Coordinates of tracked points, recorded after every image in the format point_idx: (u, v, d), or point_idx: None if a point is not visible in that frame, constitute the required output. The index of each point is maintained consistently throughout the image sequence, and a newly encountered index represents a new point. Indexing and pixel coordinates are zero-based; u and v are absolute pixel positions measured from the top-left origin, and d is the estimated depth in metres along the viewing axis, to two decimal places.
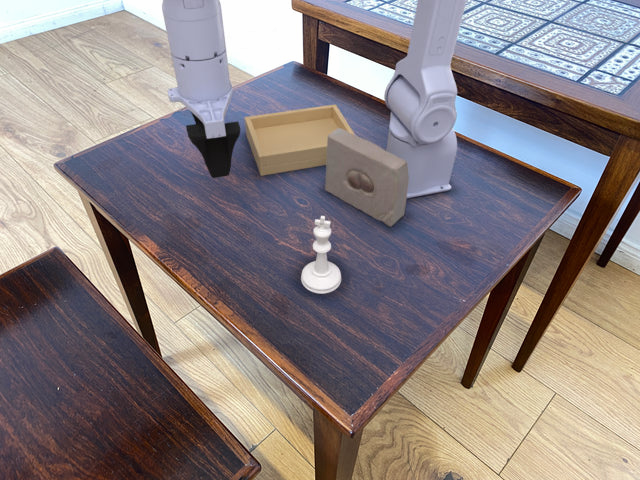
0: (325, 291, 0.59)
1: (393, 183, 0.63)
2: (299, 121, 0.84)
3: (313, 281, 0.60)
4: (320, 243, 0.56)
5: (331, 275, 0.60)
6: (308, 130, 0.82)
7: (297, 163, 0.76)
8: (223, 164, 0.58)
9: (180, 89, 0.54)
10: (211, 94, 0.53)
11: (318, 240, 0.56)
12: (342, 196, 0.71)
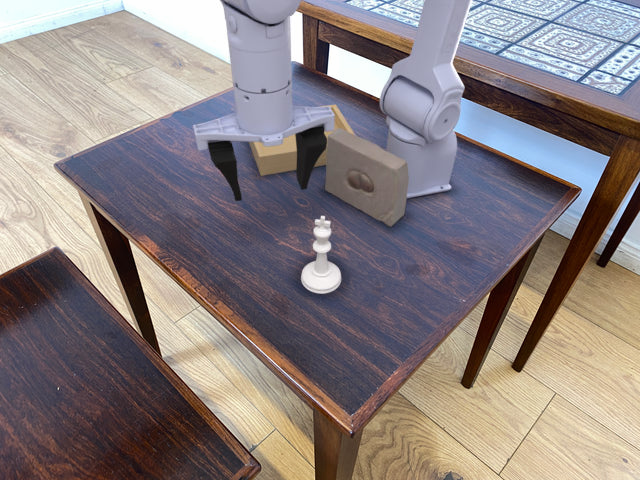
0: (325, 291, 0.59)
1: (393, 183, 0.63)
2: None
3: (313, 281, 0.60)
4: (320, 243, 0.56)
5: (331, 275, 0.60)
6: None
7: None
8: None
9: (281, 124, 0.50)
10: None
11: (318, 240, 0.56)
12: (342, 196, 0.71)
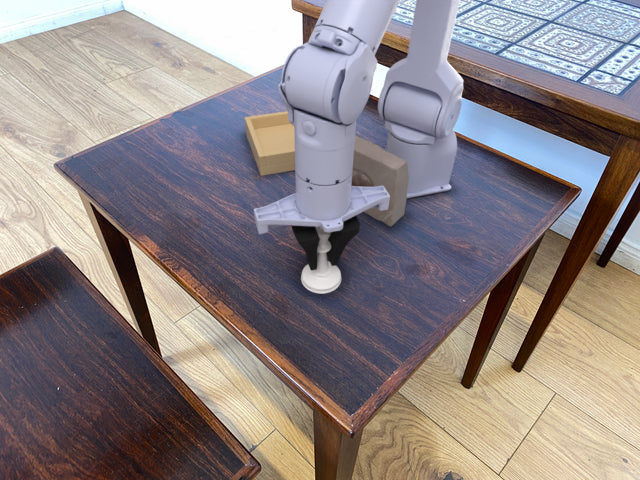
0: (325, 291, 0.59)
1: (393, 183, 0.63)
2: None
3: (313, 281, 0.60)
4: (320, 243, 0.56)
5: (331, 275, 0.60)
6: None
7: None
8: None
9: (341, 210, 0.51)
10: None
11: None
12: None
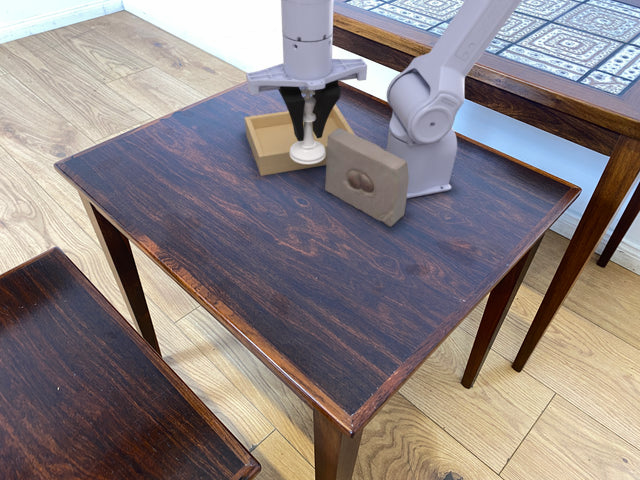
0: (311, 162, 0.66)
1: (393, 183, 0.63)
2: None
3: (300, 153, 0.66)
4: (306, 113, 0.63)
5: (317, 149, 0.67)
6: None
7: (297, 163, 0.76)
8: None
9: (323, 71, 0.58)
10: None
11: (304, 109, 0.63)
12: (342, 196, 0.71)
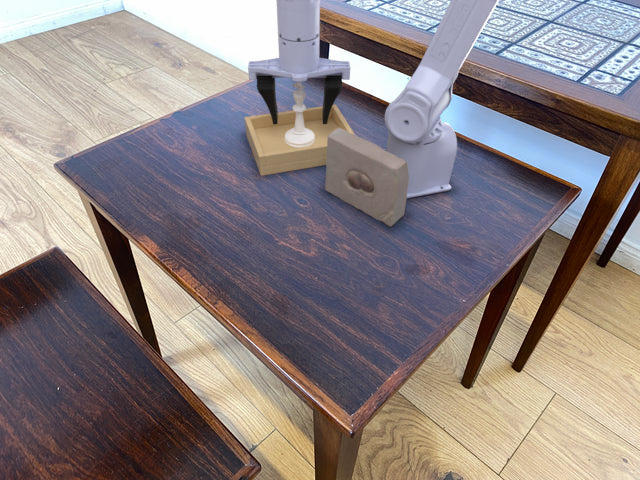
0: (298, 146, 0.79)
1: (393, 183, 0.63)
2: None
3: (291, 137, 0.79)
4: (296, 103, 0.76)
5: (306, 136, 0.79)
6: None
7: (297, 163, 0.76)
8: None
9: (307, 67, 0.69)
10: None
11: (295, 100, 0.75)
12: (342, 196, 0.71)
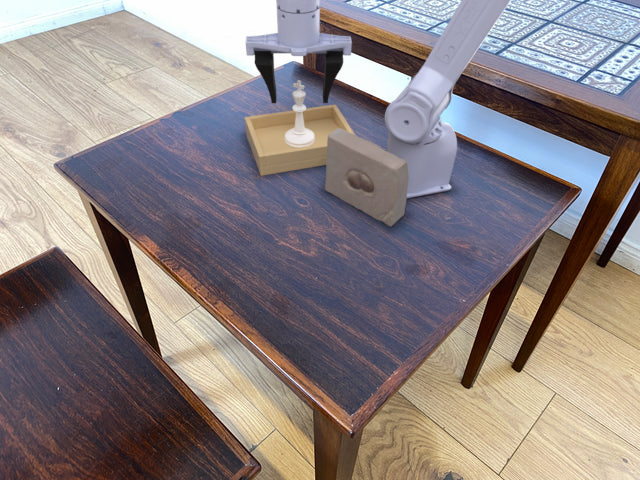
0: (298, 146, 0.79)
1: (393, 183, 0.63)
2: None
3: (291, 137, 0.79)
4: (296, 103, 0.76)
5: (306, 136, 0.79)
6: None
7: (297, 163, 0.76)
8: None
9: (307, 41, 0.67)
10: None
11: (295, 100, 0.75)
12: (342, 196, 0.71)
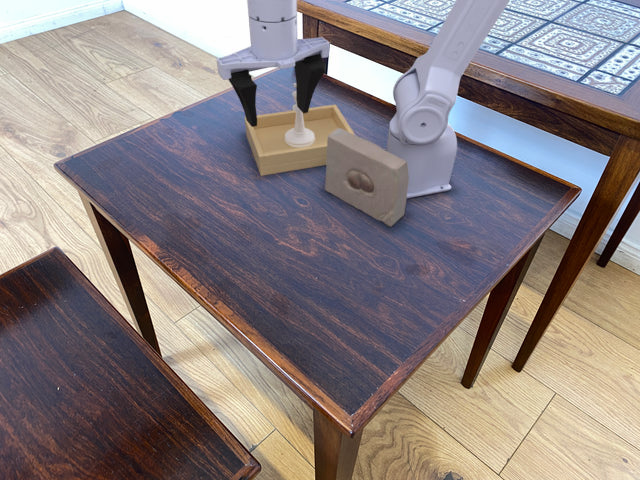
0: (298, 146, 0.79)
1: (393, 183, 0.63)
2: None
3: (291, 137, 0.79)
4: (296, 103, 0.76)
5: (306, 136, 0.79)
6: None
7: (297, 163, 0.76)
8: None
9: (291, 50, 0.60)
10: None
11: (295, 100, 0.75)
12: (342, 196, 0.71)
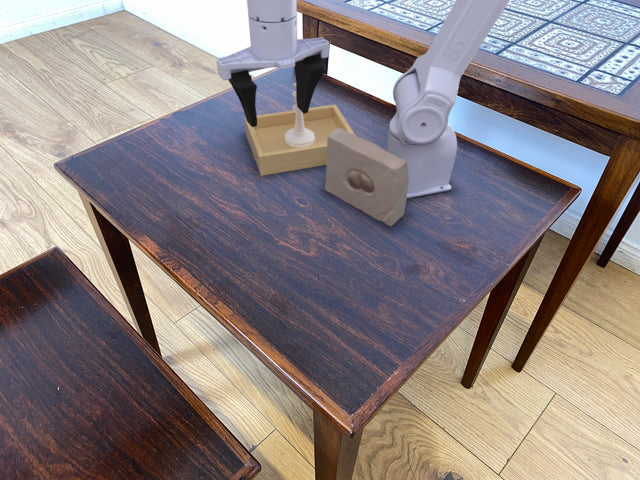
0: (298, 146, 0.79)
1: (393, 183, 0.63)
2: None
3: (291, 137, 0.79)
4: (296, 103, 0.76)
5: (306, 136, 0.79)
6: None
7: (297, 163, 0.76)
8: None
9: (291, 50, 0.60)
10: None
11: (295, 100, 0.75)
12: (342, 196, 0.71)
